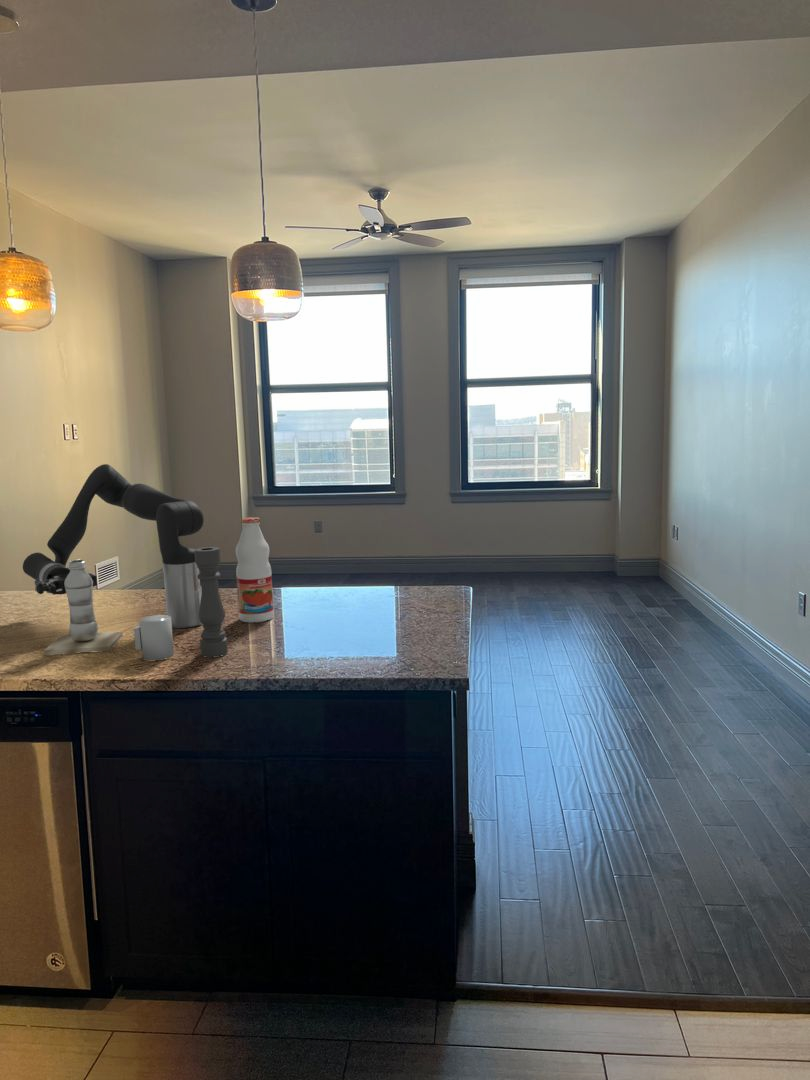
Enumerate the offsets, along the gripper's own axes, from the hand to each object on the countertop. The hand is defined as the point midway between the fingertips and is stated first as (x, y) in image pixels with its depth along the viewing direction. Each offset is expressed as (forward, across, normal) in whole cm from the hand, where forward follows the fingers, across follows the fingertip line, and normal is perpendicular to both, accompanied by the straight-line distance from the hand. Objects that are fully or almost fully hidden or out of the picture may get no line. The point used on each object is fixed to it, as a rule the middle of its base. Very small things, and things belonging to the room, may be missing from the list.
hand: (73, 587), depth 189 cm
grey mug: (+27, +11, +14) cm, 32 cm away
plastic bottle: (+6, 0, +13) cm, 14 cm away
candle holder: (+35, +22, +14) cm, 43 cm away
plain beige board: (+6, 0, +14) cm, 15 cm away
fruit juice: (+13, +44, +14) cm, 47 cm away
